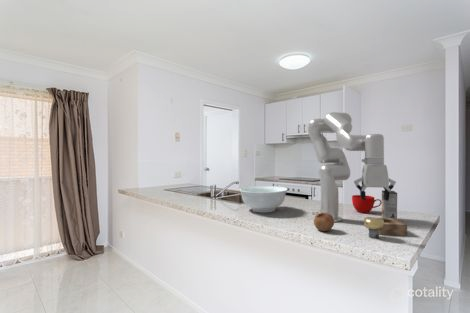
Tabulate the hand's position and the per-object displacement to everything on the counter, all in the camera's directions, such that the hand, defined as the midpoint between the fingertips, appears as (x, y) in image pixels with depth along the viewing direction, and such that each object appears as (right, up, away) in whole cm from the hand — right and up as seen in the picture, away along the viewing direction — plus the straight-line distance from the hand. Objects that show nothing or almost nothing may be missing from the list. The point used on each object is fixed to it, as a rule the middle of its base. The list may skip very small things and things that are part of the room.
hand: (374, 199), depth 113 cm
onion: (-19, -17, +11) cm, 28 cm away
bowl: (-44, -17, +56) cm, 73 cm away
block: (+11, -17, +9) cm, 22 cm away
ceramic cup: (+22, -17, +49) cm, 56 cm away
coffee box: (+26, -17, +32) cm, 44 cm away
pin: (0, -17, +1) cm, 17 cm away
